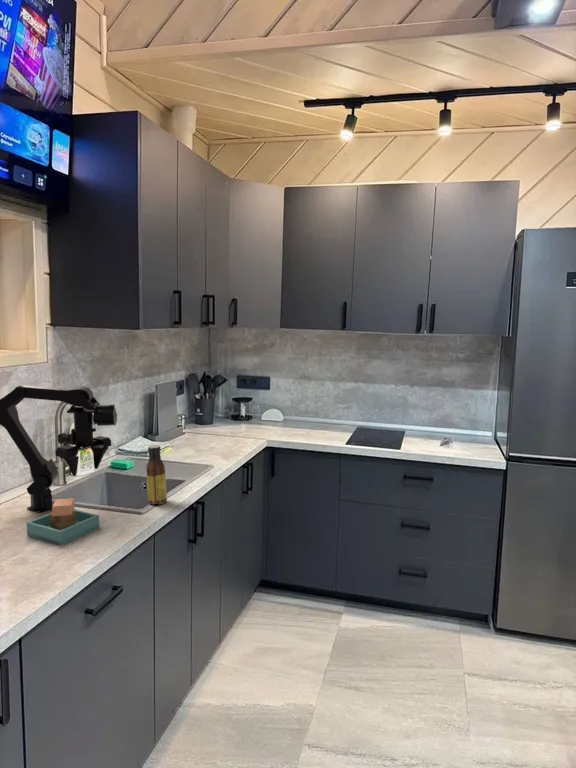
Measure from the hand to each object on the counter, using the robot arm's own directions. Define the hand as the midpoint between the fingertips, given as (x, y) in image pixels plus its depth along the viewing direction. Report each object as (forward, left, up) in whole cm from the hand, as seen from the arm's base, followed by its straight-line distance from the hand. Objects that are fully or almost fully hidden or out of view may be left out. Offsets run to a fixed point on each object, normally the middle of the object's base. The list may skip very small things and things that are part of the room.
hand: (85, 471), depth 178 cm
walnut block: (+10, -18, -11) cm, 23 cm away
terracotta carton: (+10, -18, -6) cm, 21 cm away
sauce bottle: (+18, +14, -12) cm, 26 cm away
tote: (+10, -18, -12) cm, 24 cm away
